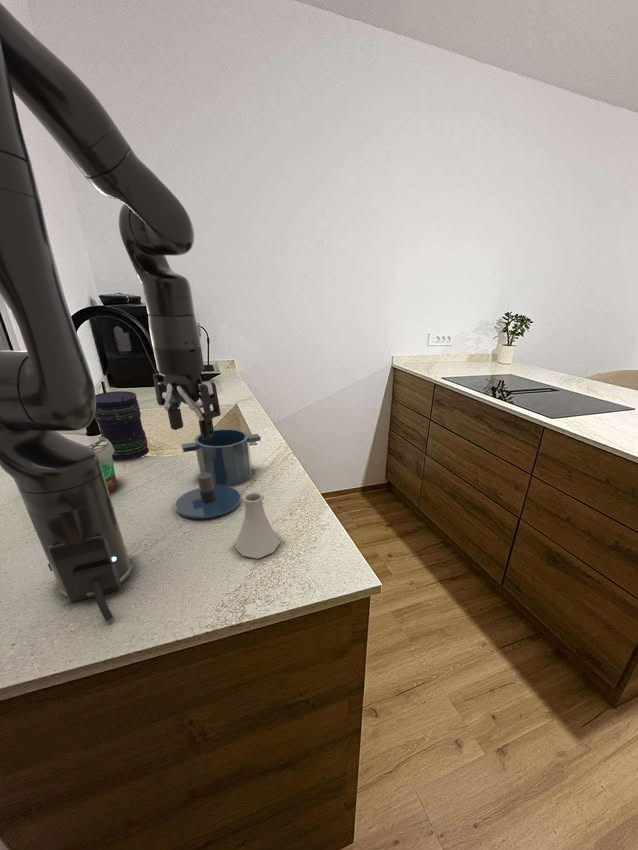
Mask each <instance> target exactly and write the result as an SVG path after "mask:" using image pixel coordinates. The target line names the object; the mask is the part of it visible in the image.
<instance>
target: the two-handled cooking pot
mask: <svg viewBox="0 0 638 850" xmlns="http://www.w3.org/2000/svg"><path fill="white" fill-rule="evenodd" d="M193 440H194V441H193V442H187V443H182V444H181V449H182V452H183V453H188V452H194V451H195V453H196V460H197V466H198V471H199V474H202V473H211V474H212V477H213V483H214V486H226V487H232V486H236V485H239V484H242V483H244V482H246V481H247V480H249V479H250V478H251V477H252V474H253V473H252V472H253V469H252V467H253V465H252V457H251V447H250V443H255V442H261V436H260V435H259V434H258V433H252V434H248V433H247V432H246V431H243V430H241V429H234V428H219V429H214V436H213V437H212V438H210V439H207V440H204V439H202V438H201V433H200V434H199V433H198V435H196V436H195V438H194V439H193Z"/></svg>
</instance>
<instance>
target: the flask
mask: <svg viewBox="0 0 638 850" xmlns="http://www.w3.org/2000/svg"><path fill="white" fill-rule="evenodd" d="M264 499H265V495H263V494H262V493H261V492H257V491H251V492H248V493H246V494H244V496H242V501H243V502H244V516H243V517H244V518H243V520H242V524H241V527H240V530H239V534H238V537H237V540H236V543H235V546H234V548H235V549H236V550H237V551H238V552H239V554H240V555H241V557H247V558H253V559H257V560H259V559H260V558H263V557H266V556H268V555H270V554H273V553H274V552H275V551H276V550H277V547H279V545H280V544H281V541H280V539H279V537H278V536H277V534H276V532H275V531H274V528H273V527H272V525H271V523H270V521H269V519H268V517H267V516H266V512H265V509H264V503H263V501H264Z"/></svg>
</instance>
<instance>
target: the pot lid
mask: <svg viewBox="0 0 638 850" xmlns="http://www.w3.org/2000/svg"><path fill="white" fill-rule="evenodd" d="M196 478H197V484H198V487H197V488H194V489H192V490H189V491H187V492H185V493H183V494H182V495H181V496H179V497H178V499H177V500H176V502H175V510H176V511H177V513H178V514H179V515H181V516H183V517H185V518H190V519H210V518H211V519H212V518H215V517H219V516H221V515H225V514H227V513H229V512H231V511H233V510H234V509H235V508H237V507H238V506H239V504H240V502H241V494H240V492H239V491H238V490H237V489H235V488H232V487H231V486H214V483H213V477H212V474H211V473H202V474H200V473H199V474H198V475H197V476H196Z"/></svg>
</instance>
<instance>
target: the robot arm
mask: <svg viewBox="0 0 638 850" xmlns="http://www.w3.org/2000/svg"><path fill="white" fill-rule="evenodd" d="M15 96H16V97H17V98H18V99H19V100H20V101H21V102H22V104H24V106H25V107H26V108H27V109H28V111H29V112H31V114H32V116H34V117H35V118H36V120H37V121H38V122H39V123H40V124H41V126H43V128H44V129H45V130H46V132H47V133H49V135H50V136H51V138H52V139H53V140H54V141H55V142H56V143H57V145H58V146H59V147H60V149H61V150H62V151H63V152H64V153H65V155H66V156H67V157H68V158H69V160H70V161H71V162H72V163H73V165H74V166H75V167H76V168H77V169H78V171H79V172H80V173H81V174H82V175H83V176H84V178H85V179H86V180H87V181H88V183H89V184H90V185H91V186H92V187H93V188H94V189H95V190H96V191H97V192H98V193H100V194H101V195H103V196H104V197H107V198H109V199H113V200H116V201H118V202H121V203H122V204H123V205H122V206H121V208H120V210H119V215H118V229H119V234H120V237H121V241H122V243H123V246H124V248H125V251H126V253H127V255H128V257H129V261H130V262H131V265H132V267H133V269H134V272H135V274H136V275H137V277H138V280H139V281H140V283H141V286H142V290H143V297H144V300H145V306H146V312H147V314H148V315H147V316H148V318H147V319H148V330H149V336H150V340H151V346H152V351H153V356H154V361H155V365H156V370H157V373H153V374H152V379H153V385H154V390H155V391H154V392H155V396H156V397H155V398H156V400H157V401H156V403H157V405H159V407H161V406H163V408H164V410H165V412H166V411H167V416H168V420H169V421H168V422H169V426H170V429H171V430H174V431H177V430H180V429H183V428H184V422H183V417H182V409H181V408H180V406H181V404H182V403H183V404H185V405H187V406H188V408H189V409H190V410H191V411H193V412H194V413H195V415H196V416H197V419H198V426H199V432H200V434H201V438H202V439H204V440H207V439H210V438H212V437H213V436H214V430H215V429H214V423H213V419H214V418H217V417H220V416H221V414H222V413H221V409H220V403H219V396H218V391H217V386H216V383H215V382H213V381H212V382H211V381H210V382H203V380H202V377H201V374H202V372H203V371H204V370H205V364H204V357H203V350H202V344H201V337H200V330H199V326H198V322H197V319H196V313H195V307H194V306H195V305H194V300H193V294H192V293H193V292H192V288H191V284H190V282H189V280H188V279H187V277H185V276H184V275H182V274H179V273H176V272H174V271H173V270H172V268H171V266H170V264H169V261H168V259H167V256H171V257H172V256H174V257H175V256H182V255H185V254H187V253H189V252H190V251H191V250H192V248H193V246H194V243H195V231H194V226H193V222H192V220H191V217H190V216H189V214H188V212H187V210H186V208H185V207H184V205H183V204H182V203H181V201H180V200H179V199H178V198H177V196H176V195H175V194H174V193H173V192H172V191H171V190H170V189H169V188H168V187H167V186H166V184H164V182H162V181H161V179H159V177H158V176H157V175H156V174H155V173H154V172H153V171H152V170H151V169H150V168H149V167H148V166H147V165H146V164H145V163H144V162H142V160H141V159H140V158H139V157H138V156H137V155H136V154H135V153H136V152H134V150H133V148H132V147H131V145H130V144H129V143H128V141H127V140H126V138H125V136H124V135H123V134H122V132H121V131H120V129H119V128H118V126H117V125H116V123H115V121H114V120H113V119H112V117H111V116H110V114H109V113H108V111H107V110H106V108H105V107H104V105H103V104H102V103H101V102H100V100H99V99H98V98H97V96H96V95H95V94H94V93H93V92H92V90H91V89H90V88H89V87H88V86H87V85H86V83H84V82H83V80H82V79H81V78H80V77H79V76H78V75H77V74H76V73H75V72H74V71H73V70H72V69H71V68H70V67H69V66H68V65H67V64H66V63H65V62H63V61H62V60H61V59H60V58H59V57H58V56H57V55H56V54H55V53H54V52H52V51H51V50H50V49H49V48H48V47H47V46H46V45H45V44H43V43H42V41H40V40H39V39H38V38H37V37H36V36H35V35H34V34H32V33H31V32H30V30H28V29H27V28H26V27H25V26H24V25H23V24H22V23H21V22H20V21H19V20H18V19H17V18H16V17H15V16H14V15H13V14H12V13H11V12H10V11H9V10H8V9H7V8H6V6H4V5H3V3H1V2H0V297H1V298H2V299H3V301H4V303H5V304H6V306H7V307H8V309H9V312H11V315H12V317H13V319H14V320H15V323H16V326H17V328H18V330H19V333H20V336H21V338H22V341H23V344H24V347H25V350H23V351H22V350H0V467H1V469H2V470H3V471H4V472H6V474H7V475H9V476H10V477H11V478H12V479H13V481H14V482H15V485H16V487H17V491H18V492H19V494H20V496H21V499H22V502H23V504H24V505H25V509H26V511H27V513H28V516H29V519H30V521H31V523H32V525H33V528H34V530H35V533H36V535H37V538H38V540H39V542H40V545H41V547H42V550H43V552H44V554H45V557H46V559H47V561H48V564H47V567H48V568H49V571H50V572H52V573H53V575H54V578H55V579H56V582H57V587H58V589H59V592H60V593H61V595H63V596H64V597H66V598H68V601H69V603H75V602H78V601H82V600H86V599H89V598H94V599H95V601H96V604H97V606H98V608H99V611H100V613H101V615H102V616H103V618H104V620H105V622H107V621H109V620H111V619H113V618H114V616H113V614H112V612H111V610H110V608H109V606H108V603H107V602H106V599H105V596H104V594H107V593H111V592H114V591H115V592H116V591H118V590H120V589H121V587H122V586H121V585H122V584H123V583H124V582H125V581H126V580H127V579H128V578H129V576H130V575H131V573H132V571H133V566H132V565H133V564H132V561H131V559H130V558H129V553H128V551H127V547H126V545H125V541H124V538H123V535H122V532H121V528H120V524H119V522H118V521H119V520H118V518H117V515H116V511H115V508H114V505H113V502H112V499H111V495H110V494H111V493H109V491H108V488H107V484H106V481H105V477H104V474H103V471H102V467H101V463H100V460H99V457H98V455H97V453H96V452H95V451H94V450H93V449H91V448H89V447H87V446H88V445H85V444H82V443H79V442H76V441H74V440H72V439H70V438H67V437H65V436H64V435H63V434H61V433H59V432H75V431H81V430H85V429H86V428H88V427H89V426H90V425H91V423H92V422H93V420H94V419H95V410H96V396H95V395H96V389H95V384H94V380H93V377H92V374H91V370H90V367H89V364H88V361H87V358H86V355H85V352H84V350H83V346H82V344H81V340H80V338H79V336H78V332H77V329H76V327H75V324H74V320H73V318H72V315H71V312H70V309H69V306H68V304H67V299H66V296H65V293H64V289H63V287H62V282H61V279H60V275H59V271H58V268H57V263H56V260H55V256H54V252H53V249H52V244H51V240H50V236H49V232H48V228H47V223H46V219H45V213H44V209H43V204H42V200H41V195H40V191H39V188H38V185H37V181H36V180H37V179H36V175H35V171H34V168H33V163H32V161H31V157H30V153H29V150H28V147H27V144H26V140H25V136H24V133H23V128H22V125H21V120H20V116H19V113H18V108H17V104H16V99H15ZM164 393H165V395H164V396H163V394H164ZM211 407H212V408H211ZM202 409H203V411H202Z"/></svg>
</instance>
